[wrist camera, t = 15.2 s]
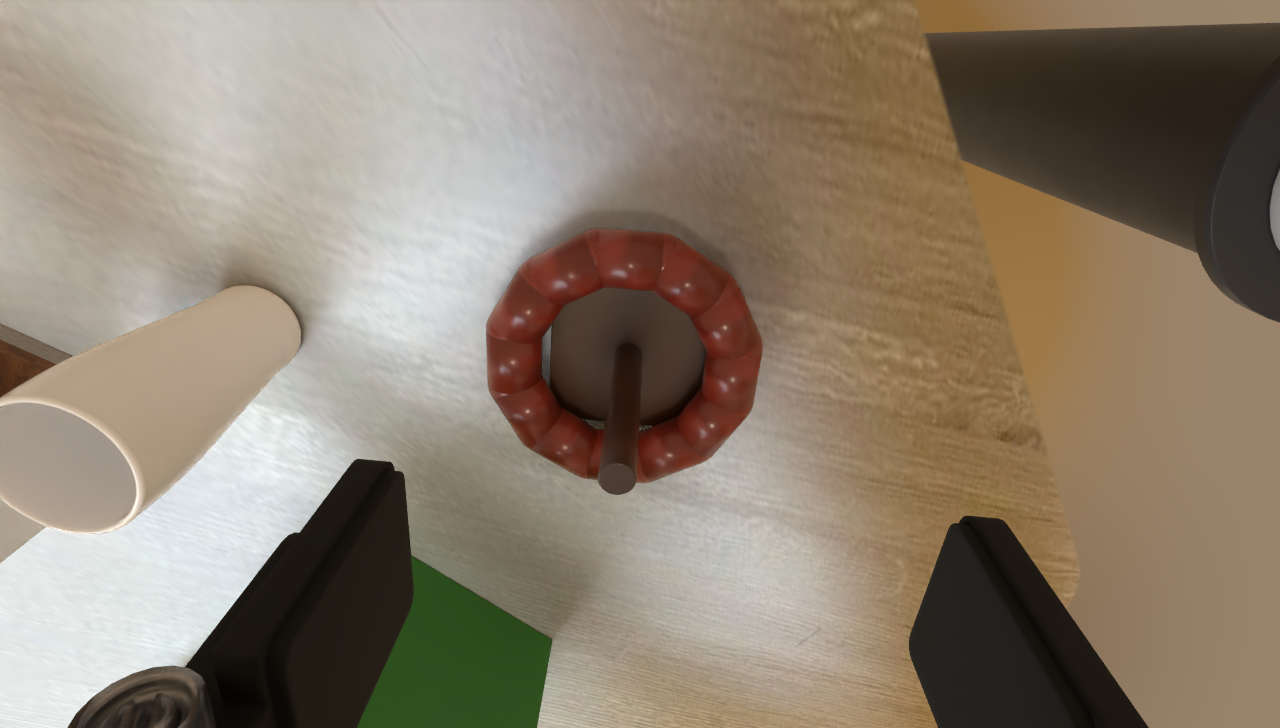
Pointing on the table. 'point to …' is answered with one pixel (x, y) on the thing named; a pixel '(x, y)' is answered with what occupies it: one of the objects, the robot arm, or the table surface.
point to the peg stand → (624, 370)
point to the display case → (3, 366)
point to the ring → (635, 267)
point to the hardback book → (459, 663)
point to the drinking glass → (138, 410)
